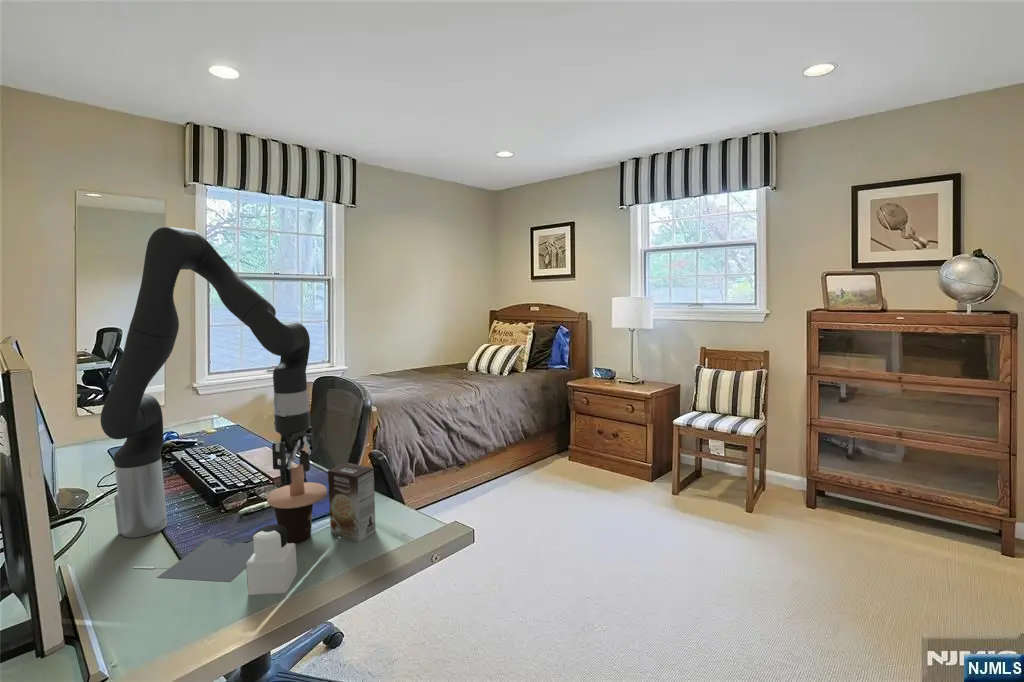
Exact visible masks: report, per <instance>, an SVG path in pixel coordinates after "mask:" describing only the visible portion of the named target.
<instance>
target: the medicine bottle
mask: <svg viewBox="0 0 1024 682" xmlns="http://www.w3.org/2000/svg"><path fill="white" fill-rule="evenodd" d="M252 539H253V540H252V541H253V543H254V554H253V555H252V556H251V557H250V559H249V560H248V561H247V563H246V568H245V571H246V579H247V581H246V582H247V594H248V596H255V595H272V594H286V593H288V590H289V588H290V587H291V585H292V583H293V581H294V580H295V578H296V576H297V575H298V568H297V567H298V565H297V550H296V549H297V548H296V544H295V543H287V529H286V528H285V527H284V526H283V525H278V524H268V525H265V526H262V527H260V528H258V529H257V530H256V531H254V533H253V535H252Z"/></svg>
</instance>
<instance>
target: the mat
mask: <svg viewBox="0 0 1024 682" xmlns="http://www.w3.org/2000/svg"><path fill="white" fill-rule="evenodd" d="M227 540H228V539H223V538H222V539H221V538H209V539H207V540H206V541H205V542H203V543H201V544H200V545H199V546H198V547H196V548H195V549H194V550H192V551H191V552H190V553H188V554H187V555H186V556H184V557H183V558H181V559H180V560H178V562H176V563H175V564H173V565H172V566H170V567H169V568H167V569H165V571H164V572H163V573H161V574H160V575H158V576H157V577H156V578H157V579H172V580H173V579H174V580H175V579H176V580H189V581H208V582H223V583H231V582H232V581H233V580H234V579H235V578H237V577H238V576H239V575H240V574H241V573H242V572H243V571H245V570H246V563H247V561H248V560H249V559H250V557H251V556H252V555H253V554H254V543H253V540H249V541H250V542H248V543H235V544H236V545H229V544H226V543H223V541H227ZM227 542H228V541H227ZM223 544H224V545H223ZM227 545H228V546H233V547H228V546H227ZM223 547H225V548H223Z"/></svg>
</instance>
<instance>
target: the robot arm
mask: <svg viewBox="0 0 1024 682" xmlns="http://www.w3.org/2000/svg"><path fill="white" fill-rule="evenodd" d="M143 262H144V263H143V270H142V275H141V276H142V277H141V283H140V288H139V291H138V295H137V300H136V302H135V303H136V304H135V308H134V311H133V312H134V313H133V315H132V318H131V321H130V324H129V328H128V331H127V335H126V338H125V339H126V340H125V344H124V348H123V352H122V355H121V358H120V361H119V364H118V368H117V371H116V374H115V377H114V379H113V382H112V385H111V387H110V390H109V391H108V394H107V396H106V399H105V401H104V404H103V406H102V409H101V413H100V425H101V429H102V431H103V433H104V434H105V435H106V437H109V438H110V439H112V440H123V439H124V440H125V442H124V443H123V444H122V446H120V448H119V449H117V451H116V452H115V453H114V455H113V464H114V472H115V482H116V489H117V494H115V495H114V497H113V500H114V508H115V519H116V526H117V534H119V535H120V534H121V535H122V537H124V538H130V539H131V538H141V537H146V536H149V535H153V534H155V533H158V532H161V531H162V530H163V529H165V528H166V527H167V525H168V516H167V505H166V495H165V494H166V493H165V485H164V484H165V483H164V474H163V463H162V453H161V452H162V450H163V446H164V421H163V420H164V417H163V411H162V407H161V405H160V402H159V401H158V400H157V398H156V397H154V396H153V395H151V394H149V393H145V391H146V389H147V387H148V385H150V382H151V381H152V379H153V378H154V377H155V376H156V375H157V373H158V372H159V371H160V370H161V368H162V367H163V366H164V364H166V362H167V361H168V359H169V357H171V354H172V352H173V350H174V347H175V344H176V340H177V336H178V333H179V327H180V321H179V315H178V312H177V307H176V305H175V300H174V292H175V286H176V283H177V280H178V276H179V273H180V271H181V270H188V271H189V270H191V271H192V272H194V273H196V274H198V275H199V276H200V277H202V278H204V279H205V280H206V281H207V282H208V283H210V285H212V287H213V288H214V289H215V291H216V292H217V295H218V297H219V300H220V301H221V303H222V304H223V305H224V306H225V308H226V309H227V310H228V311H229V312H230V313H231V314H232V315H234V317H236V318H237V319H238V320H240V321H241V322H242V323H243V324H244V325H245V326H247V327H248V328H249V329H250V331H251V332H252V334H253V335H254V336H255V338H256V340H257V341H258V342H259V344H260V345H261V346H262V347H263V348H264V349H266V351H268V352H270V353H271V354H272V355H276V356H279V357H280V362H279V364H277V366H275V368H274V369H273V371H272V382H273V415H274V416H273V417H274V428H275V429H274V430H275V432H276V433H278V434H279V435H280V441H279V442H273V443H272V446H271V449H272V450H271V451H272V452H271V453H272V454H271V455H272V470H277V471H278V470H279V474H280V484H281V485H282V486H286V485H290V484H291V483H292V478H291V469H290V467H291V465H293V464H292V463H293V461H295V459H296V456H297V454H298V455H299V464H302V465H303V472H309V471H311V460H310V455H311V454H312V451H314V450H315V440H314V437H315V436H314V430H313V429H314V427H313V426H311V414H310V400H309V393H308V382H307V372H306V371H307V367H308V361H309V357H310V356H309V354H310V347H311V340H310V339H311V338H310V334H309V332H308V329H307V328H306V327H305V325H303V324H301V323H300V322H297V321H293V322H286V323H283V322H281V321H280V320H279V319H278V318H277V317H276V314H277V313H276V311H277V310H276V309H275V307H274V306H273V305H272V304H271V303H270V301H268V300H267V299H266V298H264V297H263V296H262V295H261V294H260V293H258V292H257V291H256V290H255V289H254V288H253V287H251V285H250V284H248V283H247V282H246V281H245V280H244V279H243V278H242V277H241V276H239V274H237V272H236V271H234V269H233V268H232V267H231V266H230V265H229V264H228V263H227V261H225V259H224V258H223V257H222V256H221V255H220V254H219V253H218V252H217V250H216V249H215V248H214V247H213V245H212V244H211V243H210V242H209V240H207V239H206V238H205V237H204V236H203V234H201V233H200V232H197V231H196V230H194V229H189V228H182V227H181V228H180V227H173V226H163V227H159V228H157V229H156V230H155V231H153V232H152V233H151V235H150V237H149V239H148V241H147V245H146V250H145V255H144V261H143Z"/></svg>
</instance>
